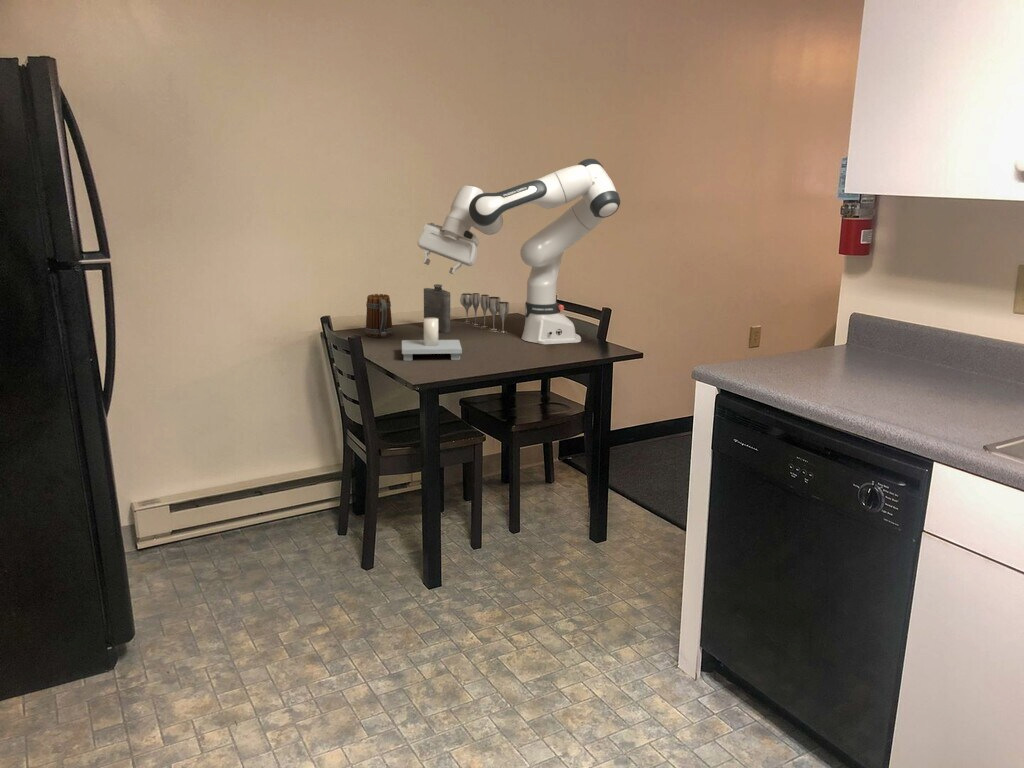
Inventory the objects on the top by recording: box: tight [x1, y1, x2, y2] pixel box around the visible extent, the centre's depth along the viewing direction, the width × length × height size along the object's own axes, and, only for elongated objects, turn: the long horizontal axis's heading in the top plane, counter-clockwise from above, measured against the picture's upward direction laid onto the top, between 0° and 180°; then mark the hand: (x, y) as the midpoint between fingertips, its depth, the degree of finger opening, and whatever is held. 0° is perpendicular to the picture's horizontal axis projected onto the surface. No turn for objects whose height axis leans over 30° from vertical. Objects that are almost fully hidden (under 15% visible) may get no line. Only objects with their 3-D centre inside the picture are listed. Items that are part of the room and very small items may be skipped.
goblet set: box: [459, 292, 510, 333], centre depth 323 cm, size 28×6×13 cm, turn 41°
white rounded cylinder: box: [423, 317, 439, 346], centre depth 275 cm, size 5×5×9 cm
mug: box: [364, 293, 394, 338], centre depth 304 cm, size 16×11×15 cm
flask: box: [423, 283, 451, 334], centre depth 316 cm, size 4×14×18 cm, turn 46°
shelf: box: [401, 339, 463, 362], centre depth 277 cm, size 20×14×4 cm
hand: (438, 268), depth 268 cm, fingers open, 8 cm apart
